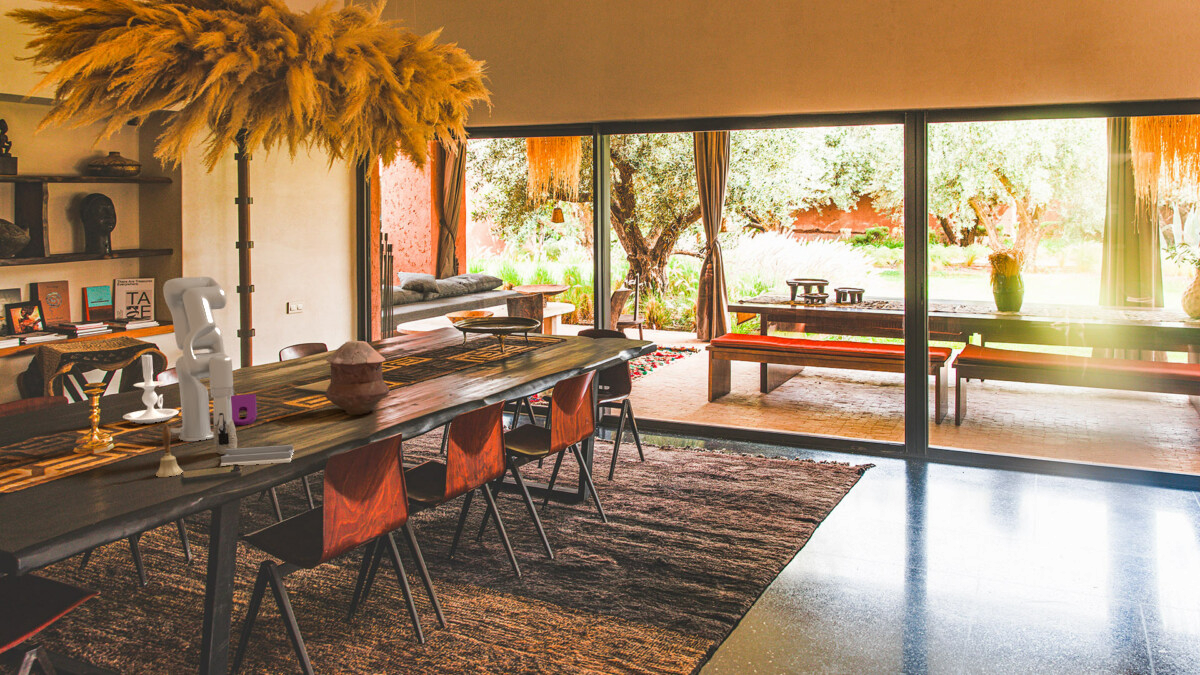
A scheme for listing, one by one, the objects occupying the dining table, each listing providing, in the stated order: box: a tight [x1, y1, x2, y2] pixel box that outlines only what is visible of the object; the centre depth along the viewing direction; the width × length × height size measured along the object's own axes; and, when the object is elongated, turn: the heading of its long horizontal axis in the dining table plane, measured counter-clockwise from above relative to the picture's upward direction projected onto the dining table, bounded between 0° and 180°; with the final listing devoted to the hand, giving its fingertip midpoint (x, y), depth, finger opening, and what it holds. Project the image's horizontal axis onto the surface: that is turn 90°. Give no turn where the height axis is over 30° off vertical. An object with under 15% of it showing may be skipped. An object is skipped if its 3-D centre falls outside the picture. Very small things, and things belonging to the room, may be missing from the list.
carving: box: [213, 419, 238, 455], centre depth 327 cm, size 6×8×12 cm
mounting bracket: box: [231, 393, 258, 426], centre depth 379 cm, size 9×8×18 cm
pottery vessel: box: [324, 340, 390, 415], centre depth 391 cm, size 26×26×30 cm
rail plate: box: [220, 444, 295, 467], centre depth 319 cm, size 22×14×3 cm, turn 103°
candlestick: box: [122, 353, 180, 424], centre depth 379 cm, size 21×25×28 cm
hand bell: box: [155, 424, 184, 478], centre depth 301 cm, size 8×8×16 cm
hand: (225, 441), depth 327 cm, fingers closed on carving, 6 cm apart
